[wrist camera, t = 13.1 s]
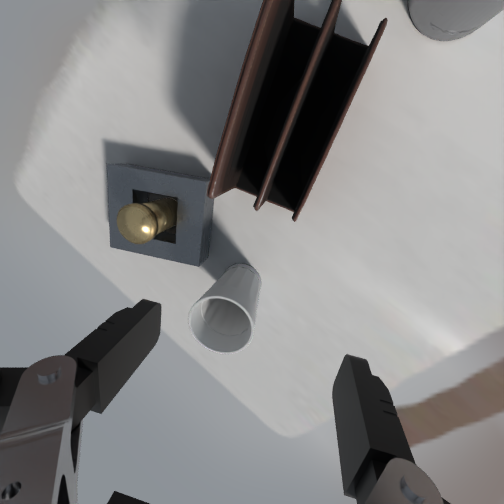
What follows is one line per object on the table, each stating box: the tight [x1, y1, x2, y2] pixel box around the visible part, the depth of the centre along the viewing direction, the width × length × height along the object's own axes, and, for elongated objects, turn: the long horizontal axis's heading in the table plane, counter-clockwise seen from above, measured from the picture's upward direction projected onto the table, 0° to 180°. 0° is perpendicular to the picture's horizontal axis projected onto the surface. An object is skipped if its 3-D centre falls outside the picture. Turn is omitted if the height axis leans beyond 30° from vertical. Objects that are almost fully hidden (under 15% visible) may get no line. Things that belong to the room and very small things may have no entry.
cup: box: [188, 264, 261, 354], centre depth 36 cm, size 8×8×12 cm
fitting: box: [117, 197, 178, 244], centre depth 35 cm, size 5×5×9 cm
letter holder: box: [207, 0, 387, 222], centre depth 26 cm, size 10×20×14 cm, turn 159°
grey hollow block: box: [107, 164, 214, 267], centre depth 38 cm, size 12×14×4 cm
